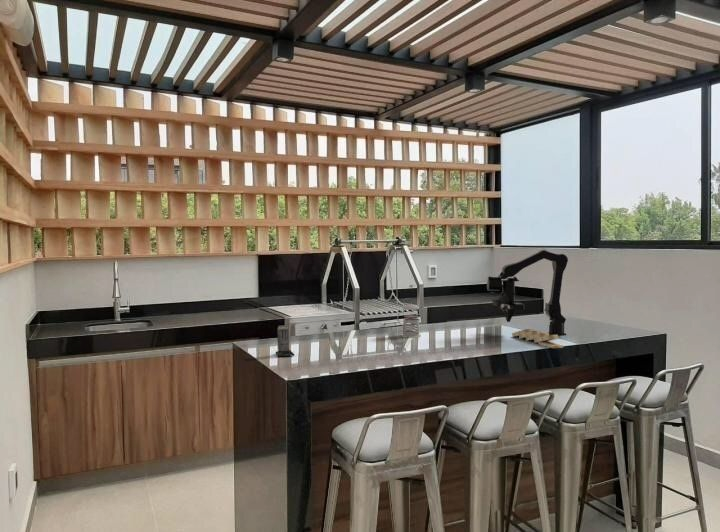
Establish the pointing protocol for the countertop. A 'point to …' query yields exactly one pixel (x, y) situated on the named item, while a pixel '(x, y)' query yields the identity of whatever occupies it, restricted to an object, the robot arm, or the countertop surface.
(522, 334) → the domino
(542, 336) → the domino
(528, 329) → the domino
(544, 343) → the domino
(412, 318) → the french press
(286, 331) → the gray block on base
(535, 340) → the domino
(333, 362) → the countertop surface
